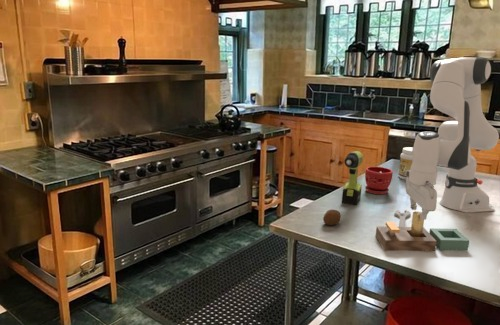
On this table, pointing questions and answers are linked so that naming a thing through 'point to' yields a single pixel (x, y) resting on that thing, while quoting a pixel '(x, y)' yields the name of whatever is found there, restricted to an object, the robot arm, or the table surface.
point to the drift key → (392, 228)
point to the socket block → (405, 240)
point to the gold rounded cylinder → (416, 225)
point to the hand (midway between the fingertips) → (417, 213)
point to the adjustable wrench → (402, 217)
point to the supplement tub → (405, 162)
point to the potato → (332, 217)
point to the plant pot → (378, 179)
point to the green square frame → (449, 239)
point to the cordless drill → (352, 179)
